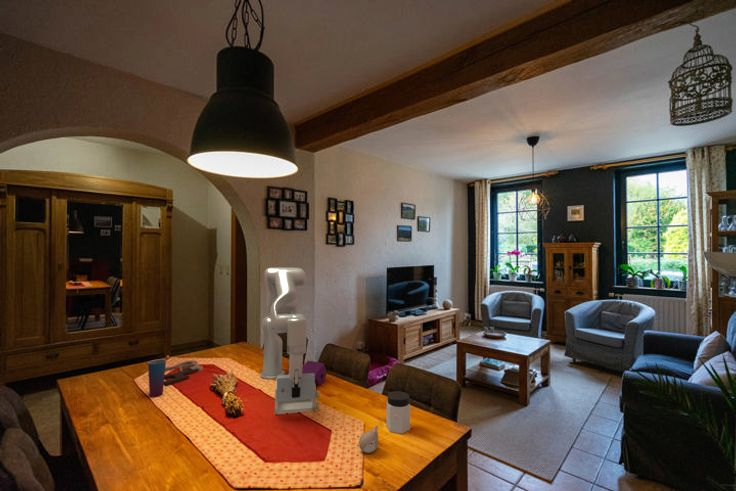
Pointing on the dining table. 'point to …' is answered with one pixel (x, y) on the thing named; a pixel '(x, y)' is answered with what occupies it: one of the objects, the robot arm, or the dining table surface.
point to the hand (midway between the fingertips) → (295, 394)
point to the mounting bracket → (315, 371)
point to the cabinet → (296, 404)
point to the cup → (156, 377)
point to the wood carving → (181, 372)
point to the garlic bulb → (369, 441)
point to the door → (286, 386)
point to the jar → (398, 412)
